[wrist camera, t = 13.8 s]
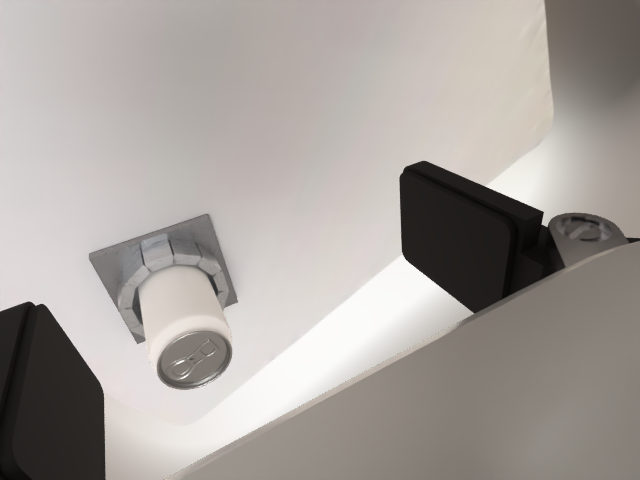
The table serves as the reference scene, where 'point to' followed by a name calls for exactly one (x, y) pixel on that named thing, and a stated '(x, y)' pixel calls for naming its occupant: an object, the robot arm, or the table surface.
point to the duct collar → (161, 265)
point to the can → (184, 326)
